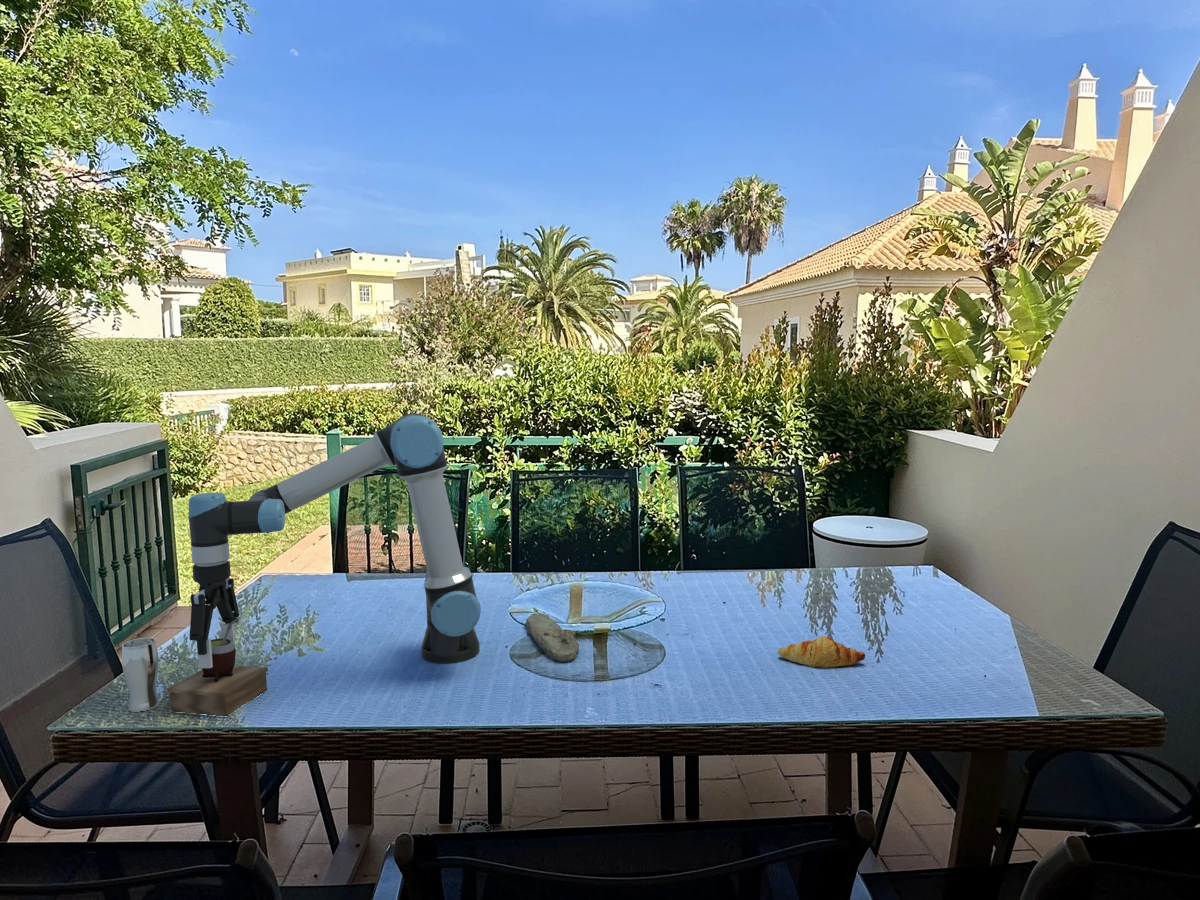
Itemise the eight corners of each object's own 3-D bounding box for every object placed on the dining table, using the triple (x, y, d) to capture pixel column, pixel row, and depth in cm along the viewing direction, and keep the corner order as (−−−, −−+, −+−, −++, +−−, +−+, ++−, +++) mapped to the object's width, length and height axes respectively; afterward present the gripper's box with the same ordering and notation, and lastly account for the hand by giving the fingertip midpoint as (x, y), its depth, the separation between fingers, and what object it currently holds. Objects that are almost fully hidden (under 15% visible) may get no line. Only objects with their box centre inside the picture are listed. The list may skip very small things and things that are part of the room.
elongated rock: (551, 624, 229) (519, 630, 225) (549, 607, 228) (517, 613, 225) (588, 659, 196) (551, 667, 192) (586, 639, 195) (549, 646, 192)
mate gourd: (202, 670, 176) (204, 607, 174) (240, 668, 179) (242, 606, 177) (198, 684, 169) (200, 618, 167) (237, 682, 172) (240, 617, 170)
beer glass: (168, 699, 176) (163, 636, 174) (151, 713, 169) (146, 647, 167) (137, 700, 175) (132, 637, 174) (119, 714, 168) (113, 648, 167)
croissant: (778, 675, 193) (777, 654, 189) (777, 645, 201) (777, 624, 197) (866, 680, 188) (867, 658, 184) (862, 649, 196) (863, 627, 192)
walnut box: (269, 692, 180) (267, 667, 179) (227, 719, 166) (225, 693, 165) (215, 687, 183) (213, 663, 182) (169, 714, 169) (167, 688, 168)
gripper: (220, 550, 182) (226, 641, 184) (165, 575, 160) (173, 678, 163) (251, 550, 182) (257, 641, 184) (200, 575, 160) (207, 678, 162)
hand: (217, 659), depth 173 cm, fingers open, 9 cm apart
